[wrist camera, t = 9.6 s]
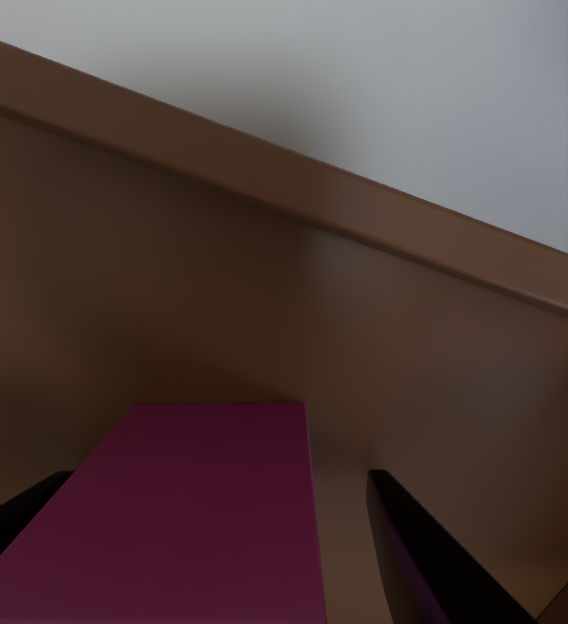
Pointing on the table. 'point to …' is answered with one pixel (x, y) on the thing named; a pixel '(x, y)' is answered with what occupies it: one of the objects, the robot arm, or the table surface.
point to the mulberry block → (177, 525)
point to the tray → (279, 323)
